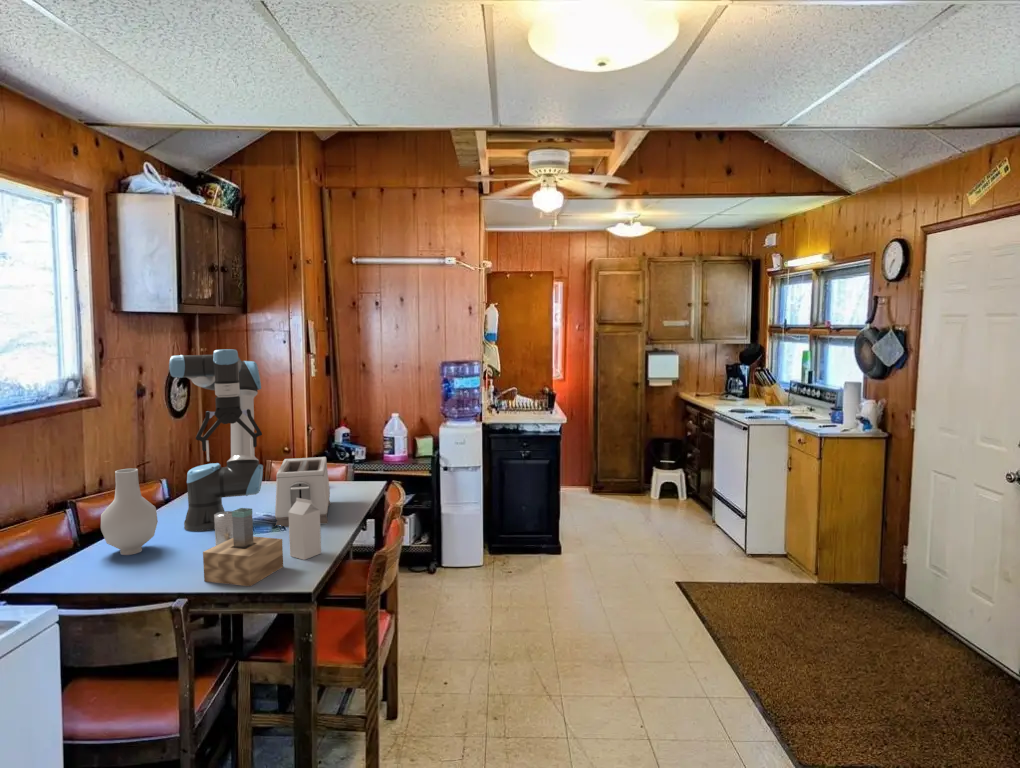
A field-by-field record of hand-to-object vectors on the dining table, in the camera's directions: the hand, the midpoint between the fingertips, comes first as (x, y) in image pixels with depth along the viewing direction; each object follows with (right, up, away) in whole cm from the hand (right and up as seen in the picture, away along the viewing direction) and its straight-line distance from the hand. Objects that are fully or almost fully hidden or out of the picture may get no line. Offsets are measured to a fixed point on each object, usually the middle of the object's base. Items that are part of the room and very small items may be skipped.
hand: (230, 458), depth 215 cm
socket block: (+12, -33, -18) cm, 40 cm away
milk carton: (+26, -32, -2) cm, 41 cm away
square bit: (+12, -29, -18) cm, 37 cm away
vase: (-35, -32, +3) cm, 47 cm away
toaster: (+10, -28, +45) cm, 54 cm away
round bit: (-1, -32, -1) cm, 32 cm away
